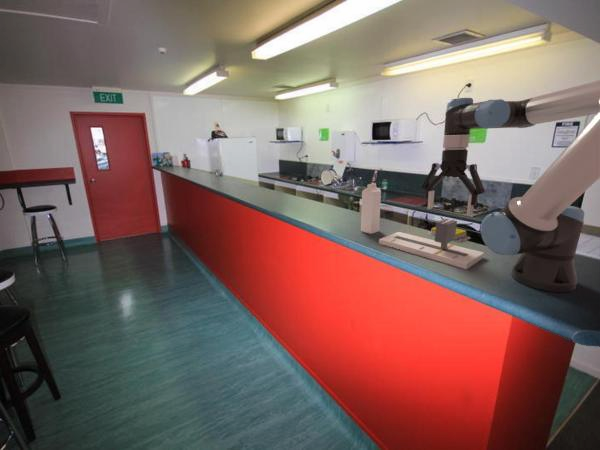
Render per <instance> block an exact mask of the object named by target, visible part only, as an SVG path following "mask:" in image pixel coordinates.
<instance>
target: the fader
mask: <svg viewBox="0 0 600 450" xmlns="http://www.w3.org/2000/svg"><path fill="white" fill-rule="evenodd" d="M457 223H458V221H457V220H455V219H450V218H445V219H442V220H440V221H438V222H436V223H435V227H436V232H435V236H434V240H435V242H439V243H441V248H442V249H446V248H447V245H448V244H450V243H451V242H454V241H453V240H455V234H456V228H457V225H458V224H457Z"/></svg>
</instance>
